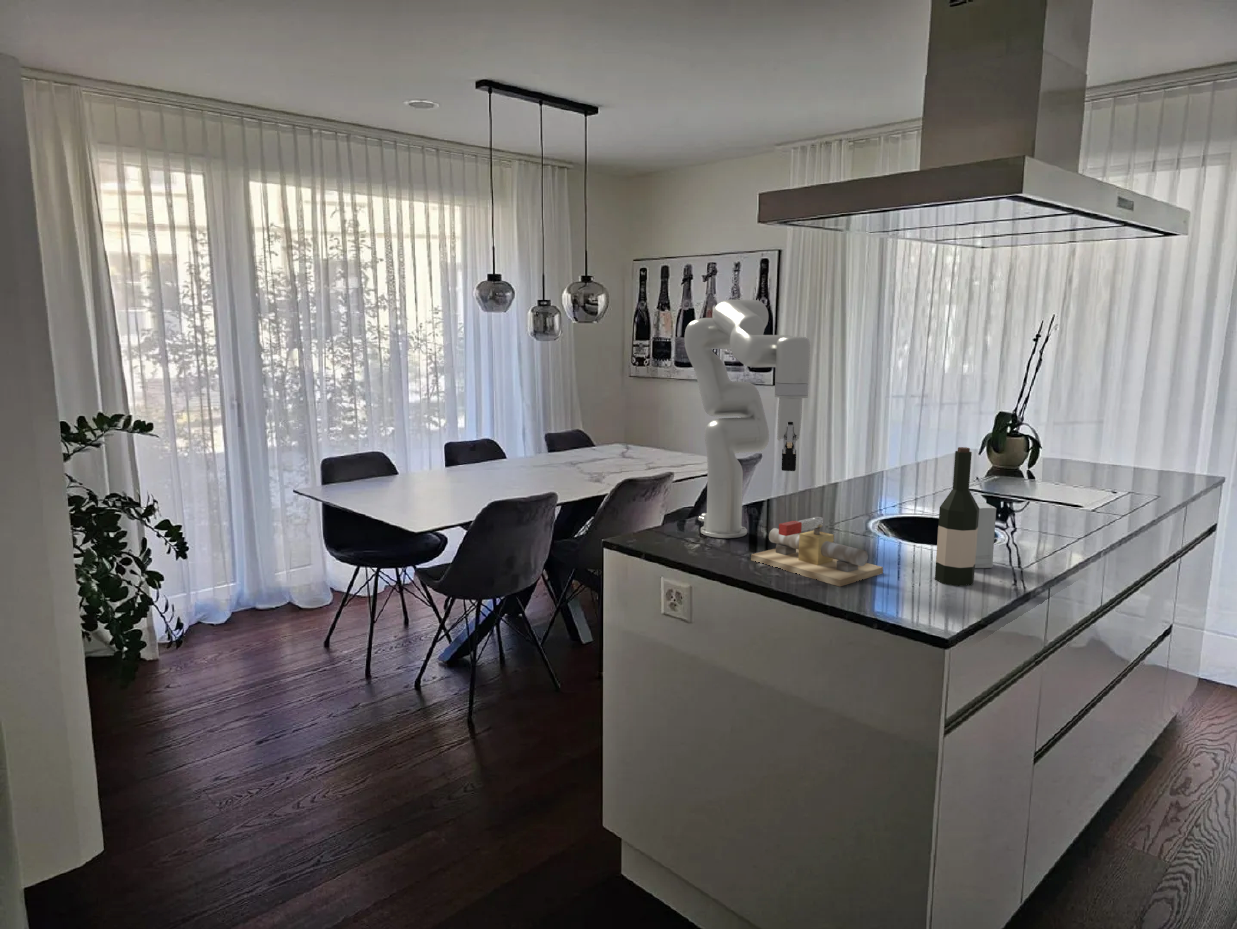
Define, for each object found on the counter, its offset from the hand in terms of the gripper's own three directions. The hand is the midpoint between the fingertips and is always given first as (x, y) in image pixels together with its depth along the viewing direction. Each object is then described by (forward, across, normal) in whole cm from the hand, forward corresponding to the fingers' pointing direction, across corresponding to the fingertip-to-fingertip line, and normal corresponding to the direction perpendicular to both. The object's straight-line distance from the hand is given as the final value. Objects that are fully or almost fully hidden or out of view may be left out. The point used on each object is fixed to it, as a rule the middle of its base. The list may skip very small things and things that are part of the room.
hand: (788, 467), depth 194 cm
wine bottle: (+24, +4, +37) cm, 44 cm away
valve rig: (+24, 0, +7) cm, 25 cm away
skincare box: (+24, -9, +43) cm, 50 cm away
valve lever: (+14, +4, +3) cm, 15 cm away
